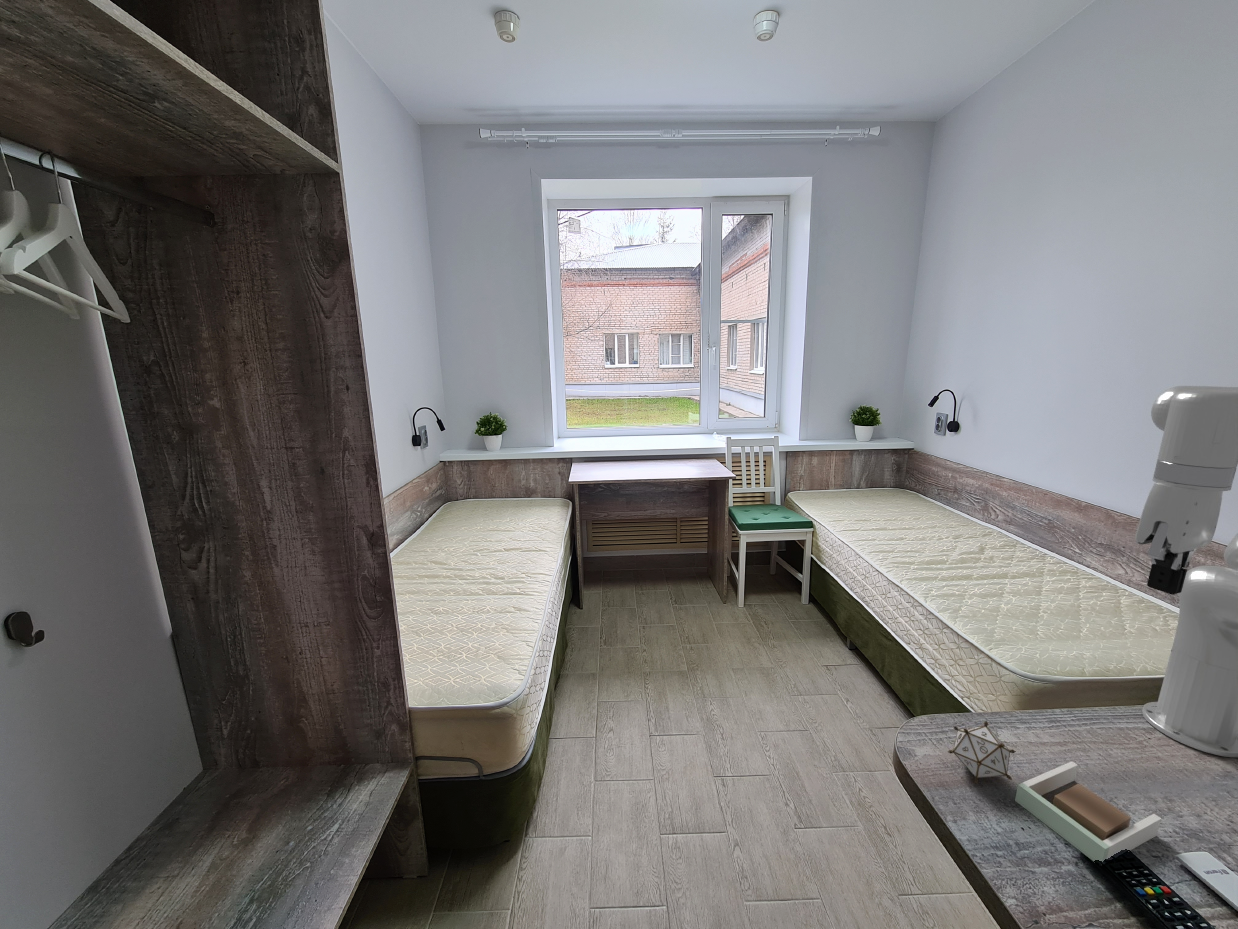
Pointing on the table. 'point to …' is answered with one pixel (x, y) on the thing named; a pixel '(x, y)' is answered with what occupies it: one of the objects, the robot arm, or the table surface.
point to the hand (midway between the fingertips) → (1163, 589)
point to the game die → (981, 752)
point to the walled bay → (1069, 828)
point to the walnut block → (1091, 812)
